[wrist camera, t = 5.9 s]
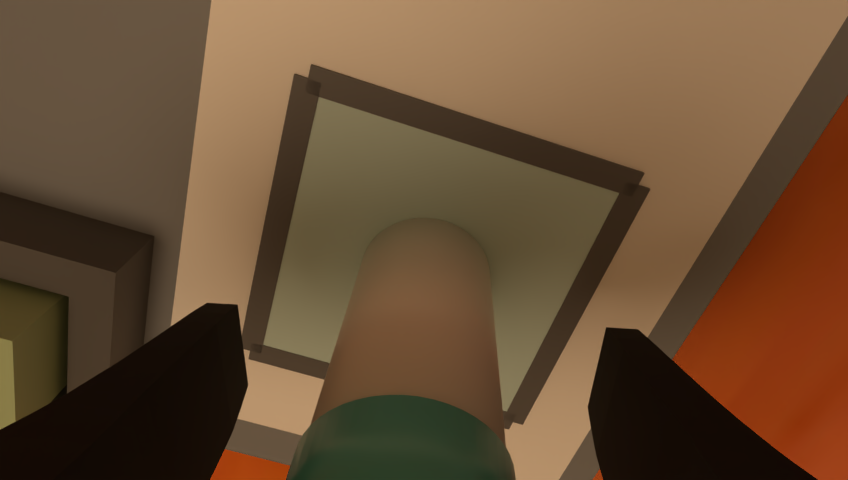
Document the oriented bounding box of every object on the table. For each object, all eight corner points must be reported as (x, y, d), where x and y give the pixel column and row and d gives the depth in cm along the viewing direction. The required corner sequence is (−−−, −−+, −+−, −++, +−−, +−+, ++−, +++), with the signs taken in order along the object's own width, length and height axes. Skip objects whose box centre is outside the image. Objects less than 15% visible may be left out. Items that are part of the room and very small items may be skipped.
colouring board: (923, -67, 11) (1047, -71, 9) (552, 511, 19) (566, 588, 17) (-156, -488, 9) (-364, -638, 7) (-59, 353, 17) (-139, 416, 15)
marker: (498, 216, 13) (544, 534, 6) (489, 334, 15) (517, 698, 8) (353, 211, 13) (229, 517, 6) (359, 329, 15) (267, 681, 8)
